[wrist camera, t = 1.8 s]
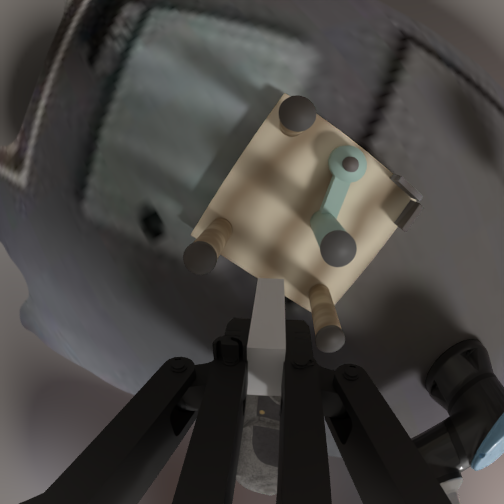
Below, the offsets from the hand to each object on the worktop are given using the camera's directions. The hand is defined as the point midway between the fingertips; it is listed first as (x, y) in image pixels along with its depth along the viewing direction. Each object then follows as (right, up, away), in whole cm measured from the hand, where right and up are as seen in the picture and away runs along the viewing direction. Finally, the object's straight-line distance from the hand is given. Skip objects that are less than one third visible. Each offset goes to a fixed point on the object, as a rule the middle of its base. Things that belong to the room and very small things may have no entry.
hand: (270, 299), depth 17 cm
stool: (+6, +8, +22) cm, 24 cm away
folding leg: (+9, +10, +18) cm, 22 cm away
